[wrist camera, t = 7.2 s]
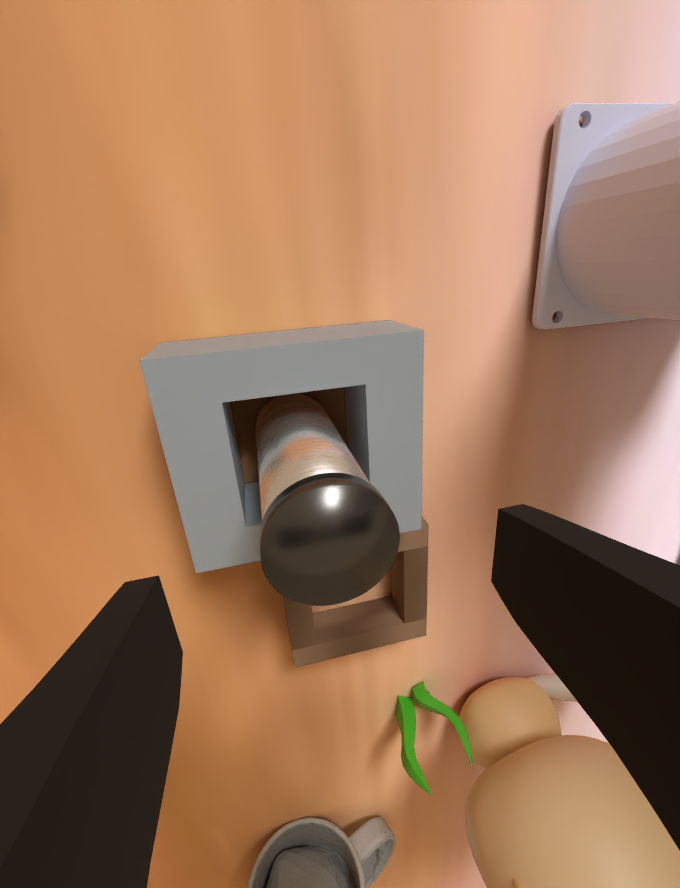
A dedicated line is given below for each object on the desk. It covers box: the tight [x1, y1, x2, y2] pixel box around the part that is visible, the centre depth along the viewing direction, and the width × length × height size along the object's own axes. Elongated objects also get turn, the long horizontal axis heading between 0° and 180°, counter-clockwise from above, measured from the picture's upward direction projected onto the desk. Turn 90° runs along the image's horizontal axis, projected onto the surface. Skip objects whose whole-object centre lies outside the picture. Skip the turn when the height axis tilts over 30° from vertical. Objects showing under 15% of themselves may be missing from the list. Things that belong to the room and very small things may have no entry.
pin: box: [255, 393, 400, 606], centre depth 14 cm, size 3×3×9 cm
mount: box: [283, 515, 428, 668], centre depth 20 cm, size 7×7×2 cm
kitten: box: [395, 674, 680, 888], centre depth 21 cm, size 15×10×15 cm
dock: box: [139, 320, 424, 573], centre depth 16 cm, size 9×8×4 cm
